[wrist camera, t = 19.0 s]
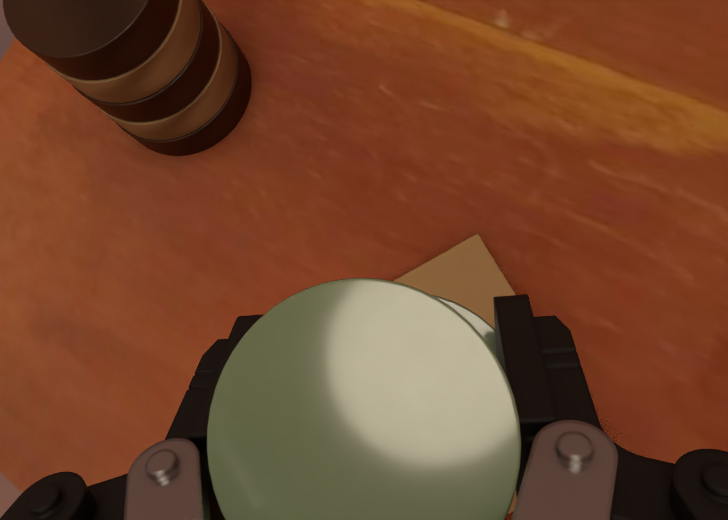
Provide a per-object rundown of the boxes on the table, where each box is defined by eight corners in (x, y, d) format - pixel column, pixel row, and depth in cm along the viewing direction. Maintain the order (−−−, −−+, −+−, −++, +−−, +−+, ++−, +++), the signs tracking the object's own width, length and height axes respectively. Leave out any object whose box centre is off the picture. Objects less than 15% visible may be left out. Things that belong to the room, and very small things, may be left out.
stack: (153, 180, 34) (29, 101, 25) (103, 73, 36) (-30, -40, 27) (274, 109, 34) (195, 0, 24) (216, 5, 36) (123, -135, 26)
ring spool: (362, 580, 17) (260, 765, 9) (260, 364, 19) (95, 347, 10) (577, 465, 16) (682, 544, 8) (453, 256, 18) (439, 151, 10)
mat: (384, 578, 28) (382, 581, 28) (273, 350, 31) (271, 349, 31) (613, 455, 27) (615, 456, 27) (477, 234, 30) (477, 233, 30)
